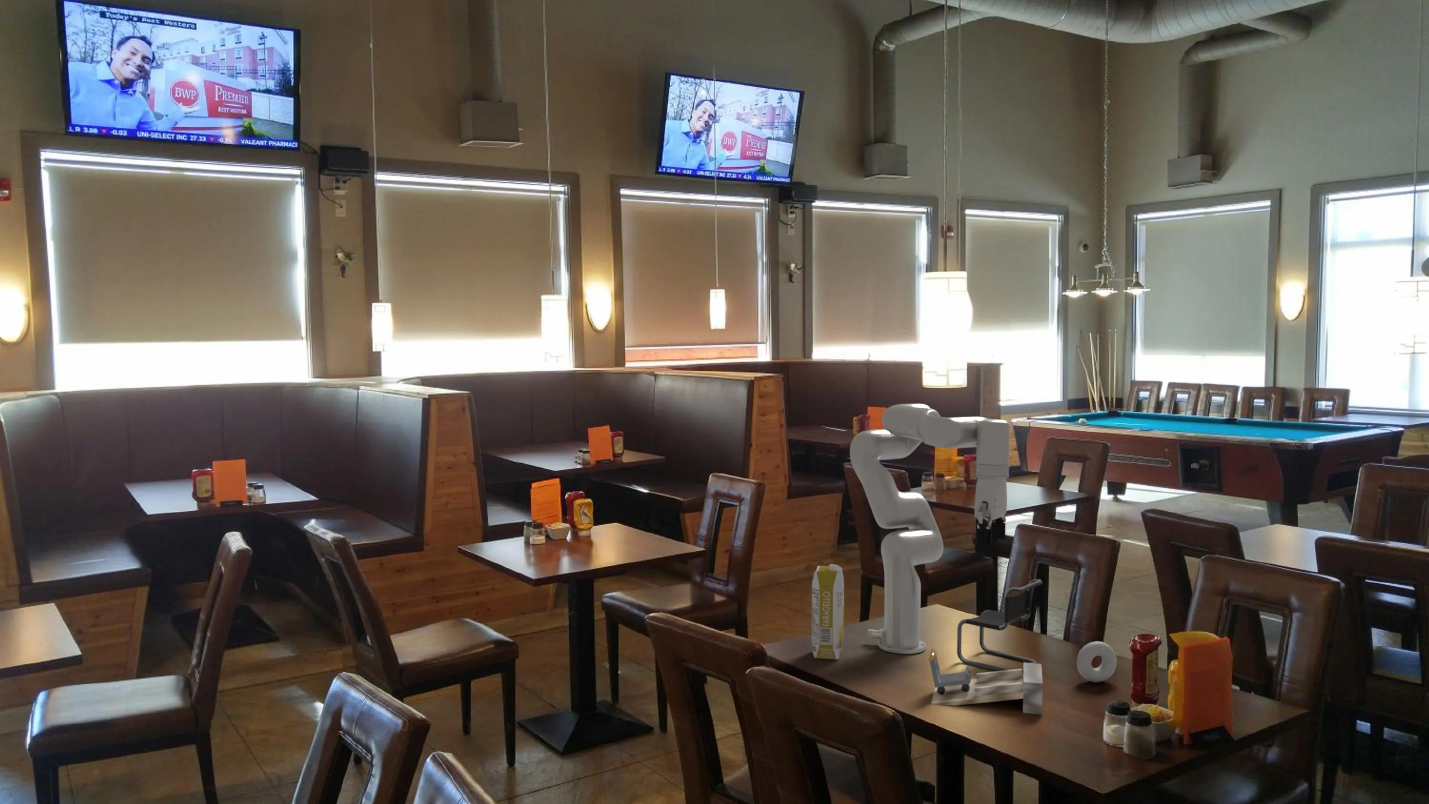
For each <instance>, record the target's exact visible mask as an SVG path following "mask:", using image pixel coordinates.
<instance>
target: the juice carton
mask: <svg viewBox="0 0 1429 804" xmlns="http://www.w3.org/2000/svg"><path fill="white" fill-rule="evenodd" d="M811 583H812V584H811V648H812V655H813V658H814V659H820V660H821V659H824V660H839V659H840V655H841V651H842V647H843V644H844V631H845V630H844V620H845V619H844V618H845V617H844V615H845V614H844V613H845V604H844V603H845V581H844V574H843V568H842V566H839V565H838V564H834V563H831V564H829V565H818V566H816V570H815V571H814V573H813V578H812V582H811Z"/></svg>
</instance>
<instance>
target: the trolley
mask: <svg viewBox="0 0 1429 804" xmlns="http://www.w3.org/2000/svg"><path fill="white" fill-rule="evenodd" d="M938 661H939V659H938V656H937V650H936V648H931V650H930V654H929V657H928V662H929V664H930V668H931V669H930V670H931V675H932V679H933V684H934V689H935V688H936V687H938V688H937V692H938V694H940V695H943V694H944V693H945V688H944V687H945V686H955V685H962V691H964V692H968V691H969V689H970V686H969V685H968V684H970V682H971V679H972V672H971V667H970V665H966V668H965V671H961V672H959V671H958V672H951V673H943V674H941V671H940V666H939V662H938Z"/></svg>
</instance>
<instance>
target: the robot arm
mask: <svg viewBox="0 0 1429 804" xmlns="http://www.w3.org/2000/svg"><path fill="white" fill-rule="evenodd" d="M881 423H882V426H883V428H881V429H878V428H877V429H869V430H864V431H861V432H859V433H857V434H856V435H855V436H854V437H853V438H852V440H851V442H850V447H849V457H850V463H851V466H852V468H853V471H854V472H855V475H856V476H857V478H858V480H859V481H860V483H861V484H862V487H863V491H864V493H865V495H866V498H867V501H868V504H869V506H870V509H871V511H872V512H871V513H872V514H873V517H874V519H875V522H876V523H877V525H878V527H880V528H882V529H885V530H889V529H891V530H893V529H901V528H908V529H902V530H895V531H892V532H890V533H888V534H887V535H886V536H885V537H884V538H883V540H882V542H881V544H880V553H881V559H882V564H883V570H884V572H883V573H884V575H883V576H884V623H883V624H884V625H883V626H884V627H883V628H880V629H879V630H878V629H873V628H872V629H871V628H869V629H867V636H868V637H870V639H879V640H878V642H877V645H878V647H879V649H880V650H883V651H885V652H888V653H893V654H899V655H913V654H920V653H923V652H924V651H926V649H927V644H926V642H924V641H923V640H922V639H921V602H922V601H921V599H922V598H921V593H922V592H921V591H922V589H921V586H922V583H921V580H920V576H919V575H918V572H917V571H916V568H915V566H917V565H918V566H919V565H923V564H924V565H925V564H929V563H930V564H931V563H934V562H937V561H938V560H939V559H940V558H941V557H942V555H943V553H944V541H943V537H942V535H941V532H940V529H939V526H938V524H937V522H936V518H935V516H934V514H933V512H932V509H931V506H930V504H929V502H928V501H927V499H926V498H925V497H924V496H923V495H922V494H920V493H918V492H917V491H899V489H898V488H897V487H898V486H897V484H896V482H895V480H894V479H895V478H894V477H893V475H892V474H891V472H890V471H889V470H888V469H887V468H886V467H885V466H884V465H883V464H881V463H880V461H884V460H885V461H887V460H897V459H898V460H899V459H905V458H907V457H908V456H910V455H911V454H912V453H913V452H914V451H915V450H916V449H917V448H918V447H919V445H920V444H921V443H924V444H925V445H928V446H932V447H937V448H941V449H951V450H952V449H953V450H954V449H965V448H976V464H975V465H976V467H975V468H976V469H975V470H976V471H975V472H976V473H975V474H976V475H975V476H976V478H977V480H976V486H975V497H974V498H975V499H974V518H975V519H977V520H976V523H977V525H976V527H977V545H978V546H982V547H983V546H984V547H991V546H992V542H993V541H992V539H995V540H996V539H997V540H1005V539H1006V522H1007V519H1006V518H1007V517H1006V515H1007V509H1008V508H1007V506H1008V492H1007V490H1008V488H1007V479H1009V477H1010V471H1009V470H1010V424H1009V422H1008V421H1007V420H1004V419H999V418H998V419H996V418H994V419H993V418H987V417H984V416H983V417H982V416H976V415H975V416H957V417H944V416H941V415H940V414H939V412H938V411H937V410H935V409H933V408H930V406H929V405H926V404H924V403H899V404H895V405H891V406H889V407H888V408H886V410H885V411H883V414H882V415H881Z"/></svg>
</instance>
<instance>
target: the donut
mask: <svg viewBox="0 0 1429 804" xmlns="http://www.w3.org/2000/svg"><path fill="white" fill-rule="evenodd" d="M1097 656H1100V657H1101V663H1100V665H1099V666H1098V667H1093V665H1092V662H1093V660H1094V658H1095V657H1097ZM1117 664H1118V660H1117V655H1116V653H1115V651H1114V649H1113V648H1112V646H1110V645H1109V644H1107V643H1105V642H1103V641H1099V640H1098V641H1097V640H1096V641H1091V642H1088V643H1086V644H1085V645H1084V646H1083V647H1082V648H1081V649H1080V650H1079V652H1078V655H1077V658H1076V667H1077V668H1076V669H1077V670H1078V673H1079V675H1081V677H1083V679H1084V680H1087V681H1089V682H1090V681H1091V682H1092V683H1101V681H1102V682H1105V681H1106V680H1108V679H1109V678H1111V676H1112V675H1113V674H1114V672H1115V671H1116V668H1117ZM1091 682H1090V683H1091Z"/></svg>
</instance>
